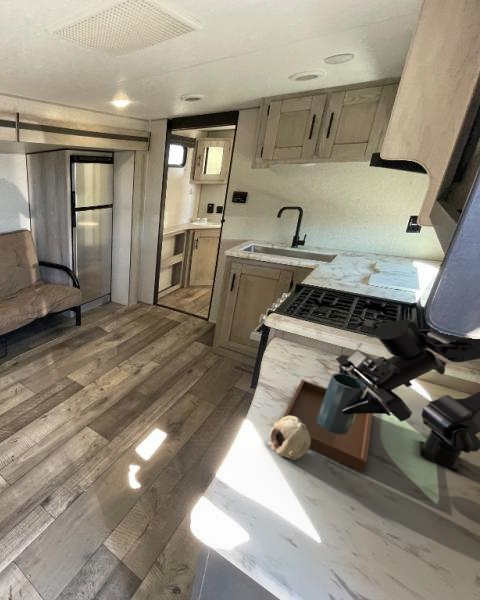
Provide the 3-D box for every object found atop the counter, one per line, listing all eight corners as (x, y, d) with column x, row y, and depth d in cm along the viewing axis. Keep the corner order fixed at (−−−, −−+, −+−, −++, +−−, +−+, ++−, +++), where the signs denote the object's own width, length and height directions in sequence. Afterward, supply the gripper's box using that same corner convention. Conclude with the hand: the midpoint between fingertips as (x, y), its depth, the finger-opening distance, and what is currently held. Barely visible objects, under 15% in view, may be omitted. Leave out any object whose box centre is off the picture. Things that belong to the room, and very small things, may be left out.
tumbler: (332, 414, 84) (348, 372, 79) (356, 433, 78) (374, 388, 73) (310, 417, 83) (324, 374, 78) (332, 436, 77) (349, 390, 72)
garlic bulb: (273, 444, 85) (279, 407, 84) (312, 459, 78) (318, 419, 78) (261, 453, 78) (267, 413, 78) (302, 470, 72) (309, 427, 72)
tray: (299, 388, 104) (301, 379, 103) (369, 414, 93) (373, 404, 92) (277, 433, 85) (280, 423, 84) (362, 472, 74) (367, 462, 73)
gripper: (355, 325, 80) (296, 360, 85) (417, 366, 63) (338, 406, 68) (379, 356, 82) (320, 387, 87) (446, 403, 65) (367, 439, 70)
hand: (334, 402), depth 78 cm, fingers closed on tumbler, 7 cm apart
